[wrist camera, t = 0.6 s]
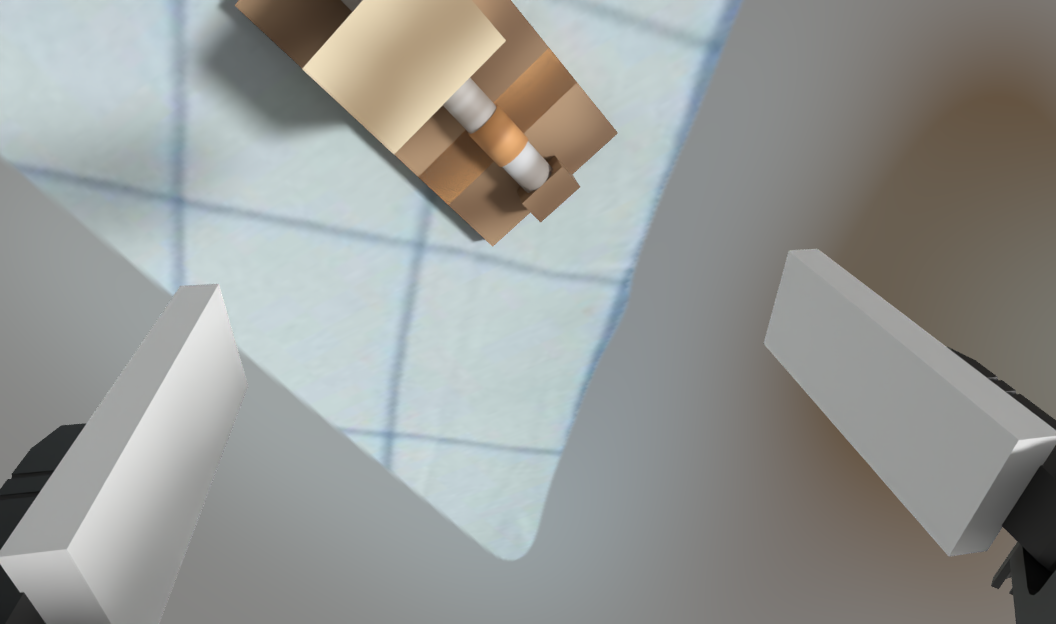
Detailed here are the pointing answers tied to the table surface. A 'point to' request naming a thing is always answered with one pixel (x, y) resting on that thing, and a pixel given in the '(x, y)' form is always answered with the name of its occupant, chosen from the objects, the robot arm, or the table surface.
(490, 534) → the table surface
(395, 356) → the table surface
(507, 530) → the table surface
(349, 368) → the table surface
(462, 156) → the rail
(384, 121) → the collar
